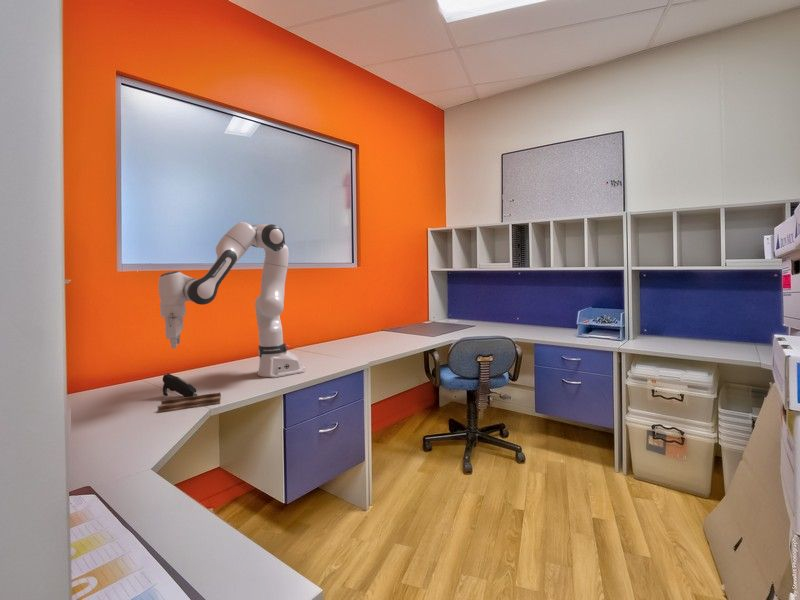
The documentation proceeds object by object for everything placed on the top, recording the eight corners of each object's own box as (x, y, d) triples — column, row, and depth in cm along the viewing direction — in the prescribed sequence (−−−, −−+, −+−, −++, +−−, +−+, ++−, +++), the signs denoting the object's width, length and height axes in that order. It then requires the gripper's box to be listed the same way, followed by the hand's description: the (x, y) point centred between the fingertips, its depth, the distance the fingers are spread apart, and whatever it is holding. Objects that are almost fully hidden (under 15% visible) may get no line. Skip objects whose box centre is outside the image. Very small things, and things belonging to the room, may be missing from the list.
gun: (187, 411, 160) (196, 390, 158) (156, 392, 162) (163, 371, 160) (192, 408, 163) (201, 388, 161) (161, 390, 165) (169, 369, 163)
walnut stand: (220, 395, 161) (220, 391, 161) (220, 403, 152) (219, 399, 152) (162, 404, 153) (161, 399, 153) (157, 412, 144) (157, 408, 144)
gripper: (178, 314, 150) (181, 350, 151) (185, 308, 168) (187, 340, 170) (159, 315, 147) (162, 351, 149) (168, 309, 166) (170, 342, 167)
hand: (175, 345), depth 159 cm, fingers open, 8 cm apart
